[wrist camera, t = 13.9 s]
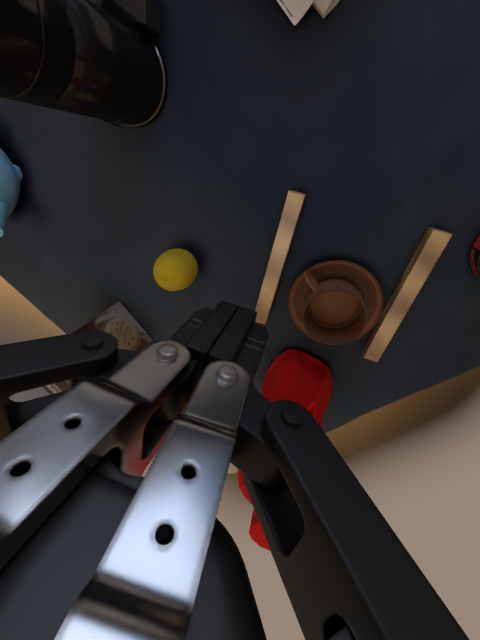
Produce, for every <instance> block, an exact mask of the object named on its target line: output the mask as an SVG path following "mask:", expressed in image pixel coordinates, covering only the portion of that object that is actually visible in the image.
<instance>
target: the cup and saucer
mask: <svg viewBox="0 0 480 640" xmlns="http://www.w3.org/2000/svg"><path fill="white" fill-rule="evenodd" d="M382 309H383V293H382V289H381V287H380V285H379V283H378V281H377V280H376V278H375V277H374V276H373V275H372V274H371V273H370V272H369V271H368V270H367V269H365V268H364V267H362V266H360V265H358V264H356V263H353V262H349V261H344V260H330V261H324V262H321V263H318V264H315V265H313V266H311V267H309V268H308V269H306V270H305V271H304V272H303V273H301V274H300V275H299V276H298V278H297V279H296V280H295V282H294V283H293V285H292V287H291V289H290V292H289V296H288V310H289V314H290V317H291V319H292V321H293V323H294V324H295V326H296V327H297V328H298V329H299V330H300V331H301V332H302V333H303V334H305V335H306V336H308V337H309V338H311V339H313V340H316V341H318V342H321V343H323V344H327V345H342V344H346V343H348V342H351V341H353V340H356V339H358V338H360V337H362V336H363V335H365V334H366V333H368V332H369V331H370V330H371V329H372V328H373V327H374V326H375V324H376V323H377V321H378V320H379V318H380V316H381V313H382Z"/></svg>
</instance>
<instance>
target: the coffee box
mask: <svg viewBox="0 0 480 640" xmlns="http://www.w3.org/2000/svg"><path fill="white" fill-rule="evenodd" d="M85 331H103V332H107V333H110V334H111V335H113V336H114V337H115V338H116V339H117V341H118V349H124V350H133V351H142V350H143V349H144V348H145V347H146V346H147V345H148V344H149V343H150V342H151V341H152V338H151V337H150V336H149V335H148V334H147V333H146V331H145V330H144V329H143V328H142V327H141V326H140V324H139V323H138V322H137V321H136V320H135V319H134V317H133V316H132V315H131V314H130V313H129V312H128V310H127V309H126V308H125V307H124V306H123V305H122V303H121V302H120V301H119V302H117V303H116V304H114V305H113V306H111V307H110V308H108V309H107V310H105V311H104V312H102V313H100V314H99V315H97V316H96V317H94V318H93V319H91V320H90V321H88V322H87V323H85V324H84V325H82V326H81V327H79V328H78V329H76V330H75V331H73V332H72V333H70V334H73V333H79V332H85ZM42 387H43V388H44V389H45V390H46V391H47V392H48V393H49V394H50V395H52V394H55V393H59V392H63V391H67V390H70V385H69V380H67V381H63V382H59V383H54V384H50V385H46V386H42Z"/></svg>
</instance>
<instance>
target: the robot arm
mask: <svg viewBox="0 0 480 640" xmlns="http://www.w3.org/2000/svg"><path fill="white" fill-rule="evenodd" d="M160 14H161V11H160V10H159V9H158V8H157V7H155V6H154V5H153V4H152V3H151V2H150V1H149V0H0V98H5V99H10V100H15V101H19V102H24V103H29V104H33V105H38V106H43V107H47V108H52V109H57V110H61V111H66V112H71V113H75V114H80V115H84V116H89V117H94V118H98V119H101V120H104V121H106V122H109V123H111V124H113V125H116V126H118V127H122V126H120V125H118V124H115V123H113V122H117V123H120V124H124V125H127V126H132V127H142V126H145V125H147V124H149V123H151V122H152V121H153V120H154V119H155V118H156V117H157V116H158V115H159V113H160V112H161V110H162V108H163V105H164V102H165V99H166V94H167V73H166V67H165V63H164V60H163V57H162V55H161V53H160V51H159V49H158V46H157V38H158V36H157V34H158V35H159V33H160ZM110 121H112V122H110ZM124 128H125V127H124ZM256 316H257V312H256V311H253V310H250V309H247V308H244V307H241V306H240V307H239V306H238V305H235V304H232V303H229V302H226V301H223V300H222V301H221V302H220V303H219V304H218V305H217V306H216V308H215V309H214V310H212V309H209V308H203V309H201V310H198V311H196V312H195V313H194V314H193V315H192V316H191V317H190V319H188V320H187V321H186V322H185V324H183V325H182V326H181V327H180V329H179V330H178V331H177V332H176V333H175V334H174V335H173V336H172V337H171V338H170V339H169V340H162V341H156V342H153V343H151V344H150V345H148V346H147V347H146V348H145V349H143V350H142V351H133V350H124V349H118V341H117V339H116V338H115V337H114V336H113V335H111V334H110V333H107V332H103V331H85V332H79V333H73V334H67V335H61V336H55V337H48V338H42V339H36V340H30V341H24V342H18V343H12V344H5V345H0V640H267V639H266V635H265V632H264V629H263V625H262V622H261V618H260V615H259V611H258V608H257V605H256V601H255V598H254V594H253V591H252V587H251V584H250V580H249V577H248V574H247V570H246V568H245V564H244V562H243V559H242V557H241V554H240V552H239V549H238V547H237V546H236V544H235V542H234V540H233V538H232V537H231V535H230V534H229V532H228V531H227V530H226V528H225V527H224V526H223V525H222V523H221V522H220V521H219V520H218V519H217V518H216V515H217V511H218V507H219V503H220V499H221V495H222V492H223V488H224V483H225V480H226V476H227V472H228V468H229V464H230V462H231V463H232V464H233V465H234V466H236V467H237V468H238V469H239V470H240V471H242V472H243V480H244V484H245V486H246V489H247V491H248V494H249V497H250V499H251V502H252V504H253V507H254V509H255V512H256V514H257V517H258V520H259V522H260V525H261V527H262V530H263V532H264V535H265V537H266V540H267V543H268V545H269V548H270V550H271V553H272V555H273V558H274V561H275V563H276V566H277V568H278V571H279V573H280V576H281V578H282V581H283V583H284V586H285V588H286V591H287V594H288V596H289V598H290V601H291V604H292V607H293V609H294V612H295V614H296V617H297V619H298V622H299V624H300V627H301V629H302V632H303V635H304V637H305V640H469V639H468V637H467V636H466V634H465V633H464V631H463V630H462V628H461V627H460V626H459V624H458V623H457V621H456V620H455V618H454V617H453V616H452V614H451V613H450V611H449V610H448V608H447V607H446V606H445V604H444V603H443V601H442V600H441V598H440V597H439V596H438V595H437V593H436V591H435V590H434V588H433V587H432V586H431V584H430V583H429V582H428V580H427V579H426V577H425V576H424V574H423V573H422V571H421V570H420V569H419V567H418V566H417V564H416V563H415V562H414V560H413V558H412V557H411V556H410V554H409V553H408V552H407V550H406V548H405V547H404V546H403V544H402V543H401V541H400V540H399V539H398V537H397V536H396V534H395V533H394V531H393V530H392V529H391V527H390V526H389V524H388V523H387V521H386V520H385V518H384V517H383V516H382V514H381V513H380V511H379V510H378V508H377V507H376V506H375V505H374V503H373V501H372V500H371V498H370V497H369V496H368V494H367V493H366V491H365V490H364V488H363V487H362V486H361V484H360V483H359V482H358V480H357V479H356V477H355V476H354V474H353V473H352V471H351V470H350V468H349V467H348V466H347V464H346V463H345V461H344V460H343V458H342V457H341V456H340V454H339V453H338V451H337V450H336V448H335V447H334V446H333V444H332V443H331V441H330V440H329V439H328V437H327V436H326V434H325V433H324V431H323V430H322V428H321V427H320V426H319V424H318V423H317V421H316V420H315V419H314V417H313V416H312V414H311V413H310V412H309V411H308V410H307V409H306V408H305V407H303V406H302V405H300V404H298V403H296V402H294V401H290V400H277V401H274V402H272V403H271V402H270V401H268V400H267V399H265V398H264V397H263V396H261V395H260V394H259V392H258V391H257V390H256V388H255V387H254V384H253V379H254V377H255V374H256V371H257V369H258V366H259V363H260V360H261V357H262V354H263V350H264V347H265V344H266V341H267V338H268V334H267V330H266V327H263V326H260V325H257V324H254V323H255V320H256ZM67 380H69V385H70V390H67V391H63V392H59V393H55V394H52V395H48V396H44V397H40V398H36V399H33V400H29V401H25V402H14V401H12V400H10V399H9V397H10V396H11V395H13V394H15V393H18V392H21V391H25V390H30V389H33V388H38V387H42V386H46V385H50V384H54V383H59V382H63V381H67ZM186 405H187V406H186ZM185 407H186V408H185ZM184 408H185V410H184ZM183 410H184V412H183V414H182V415H181V413H182V411H183ZM155 454H156V455H155ZM154 456H155V457H154ZM153 457H154V459H153ZM152 459H153V461H152V463H151V465H150V467H149V469H148V471H147V473H146V475H145V477H142V475H143V473H144V470H145V469H146V467H147V466H148V464H149V463H150V461H151V460H152Z"/></svg>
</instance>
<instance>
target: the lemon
mask: <svg viewBox="0 0 480 640" xmlns="http://www.w3.org/2000/svg"><path fill="white" fill-rule="evenodd" d="M197 273H198V264H197V261H196V259H195V257H194V256H193V255H192V254H191V253H190V252H188V251H186V250H184V249H178V248H176V249H170V250H168V251H166V252H164V253H163V254H161V255H160V256H159V257H158V259H157V260H156V262H155V264H154V268H153V275H154V278H155V280H156V282H157V283H158V284H159V285H160V286H161V287H162V288H164V289H166V290H169V291H178V290H182V289H185V288H186V287H188V286H189V285H191V284H192V282H193V281H194V280H195V278H196V276H197Z"/></svg>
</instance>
